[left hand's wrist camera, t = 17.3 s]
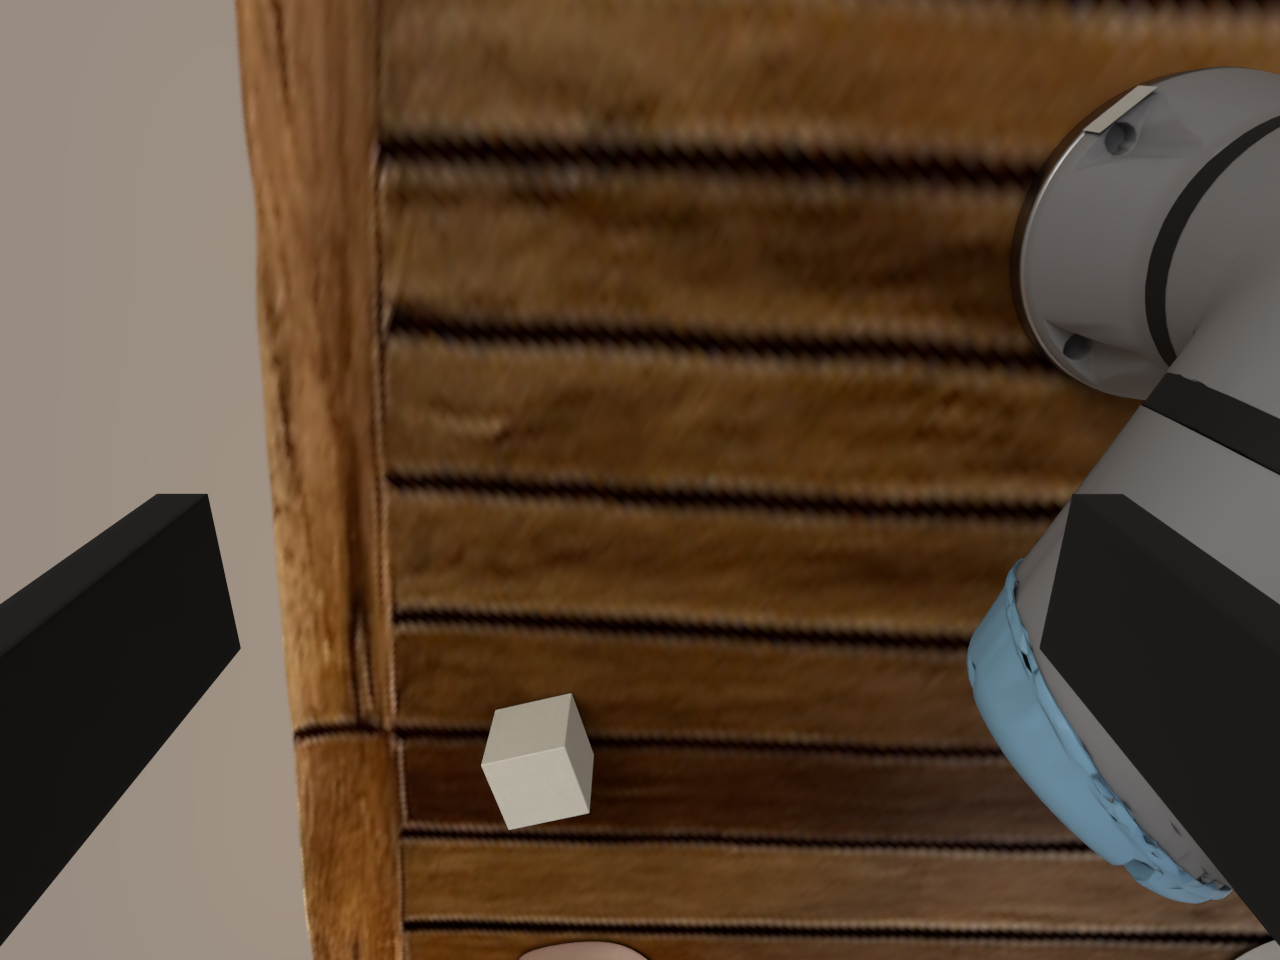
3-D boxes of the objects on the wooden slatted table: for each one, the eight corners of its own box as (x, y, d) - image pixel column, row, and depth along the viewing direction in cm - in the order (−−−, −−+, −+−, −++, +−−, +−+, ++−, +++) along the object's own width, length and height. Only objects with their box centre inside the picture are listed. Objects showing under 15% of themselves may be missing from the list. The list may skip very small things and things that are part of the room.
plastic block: (571, 692, 50) (564, 747, 46) (594, 755, 52) (589, 813, 48) (495, 709, 51) (480, 765, 46) (520, 771, 53) (508, 830, 48)
